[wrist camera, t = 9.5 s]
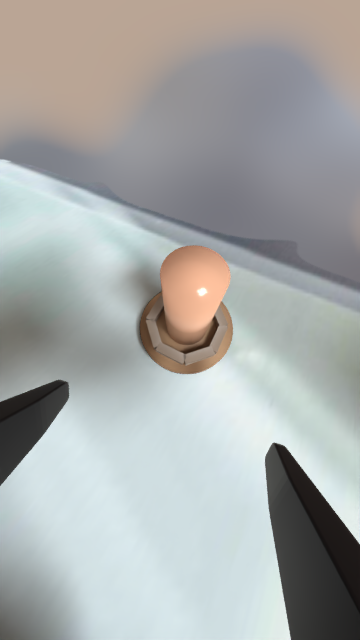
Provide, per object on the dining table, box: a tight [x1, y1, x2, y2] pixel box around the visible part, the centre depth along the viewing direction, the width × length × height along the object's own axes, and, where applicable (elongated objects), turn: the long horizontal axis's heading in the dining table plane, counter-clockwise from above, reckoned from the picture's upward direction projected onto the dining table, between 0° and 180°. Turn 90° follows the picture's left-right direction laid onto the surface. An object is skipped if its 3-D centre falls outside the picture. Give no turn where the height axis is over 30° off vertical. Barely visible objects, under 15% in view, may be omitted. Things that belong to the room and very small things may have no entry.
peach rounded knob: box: [160, 246, 230, 345], centre depth 18 cm, size 5×5×10 cm
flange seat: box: [140, 292, 233, 374], centre depth 23 cm, size 11×11×2 cm
